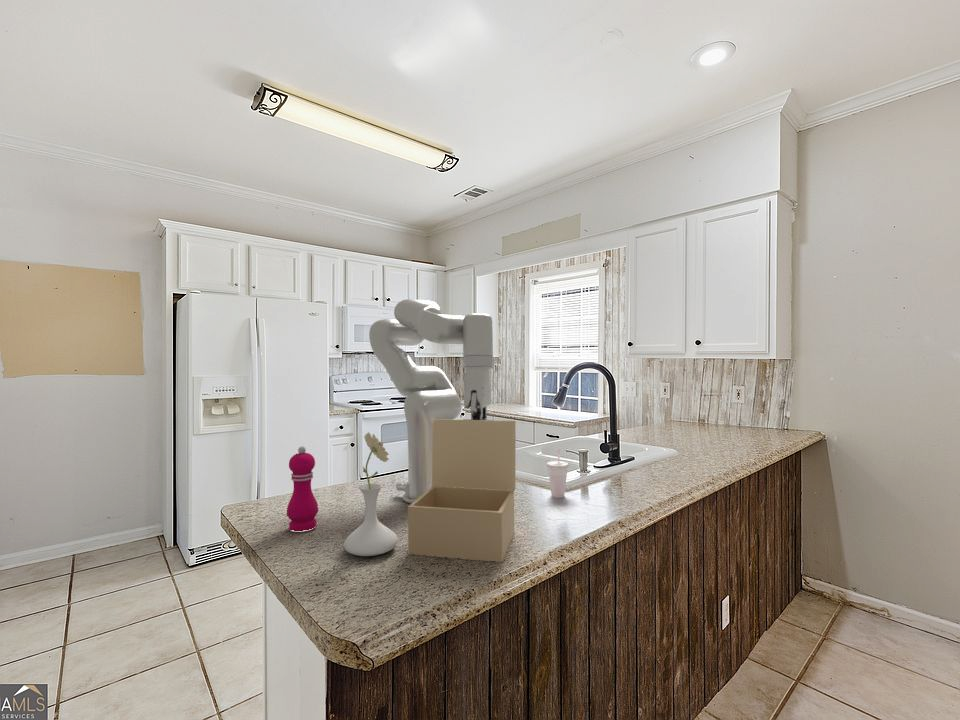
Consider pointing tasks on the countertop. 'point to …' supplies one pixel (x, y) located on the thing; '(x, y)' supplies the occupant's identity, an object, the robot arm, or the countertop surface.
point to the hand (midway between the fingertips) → (479, 434)
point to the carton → (461, 523)
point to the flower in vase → (371, 514)
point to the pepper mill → (302, 492)
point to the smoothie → (557, 477)
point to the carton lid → (474, 454)
